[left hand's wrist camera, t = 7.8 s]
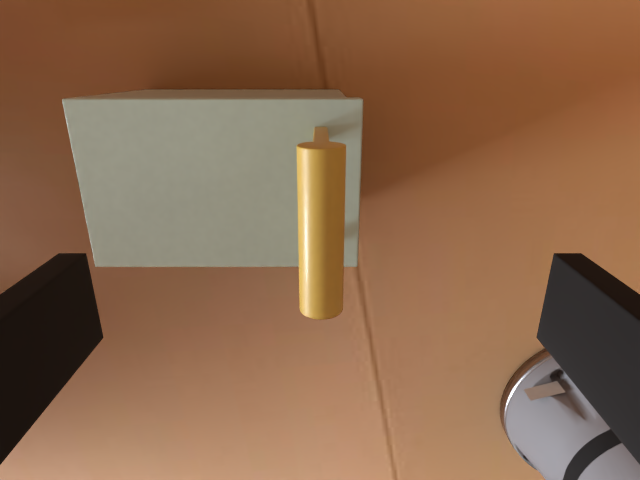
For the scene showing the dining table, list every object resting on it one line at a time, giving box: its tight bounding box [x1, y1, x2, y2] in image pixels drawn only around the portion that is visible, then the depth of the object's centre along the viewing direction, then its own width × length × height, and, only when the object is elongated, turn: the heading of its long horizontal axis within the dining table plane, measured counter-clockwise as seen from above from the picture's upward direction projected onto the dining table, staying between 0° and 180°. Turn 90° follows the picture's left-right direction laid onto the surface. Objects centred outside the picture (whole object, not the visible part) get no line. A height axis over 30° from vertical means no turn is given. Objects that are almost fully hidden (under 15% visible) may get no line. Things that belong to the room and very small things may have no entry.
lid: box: [62, 97, 363, 319], centre depth 21 cm, size 15×9×9 cm, turn 90°
